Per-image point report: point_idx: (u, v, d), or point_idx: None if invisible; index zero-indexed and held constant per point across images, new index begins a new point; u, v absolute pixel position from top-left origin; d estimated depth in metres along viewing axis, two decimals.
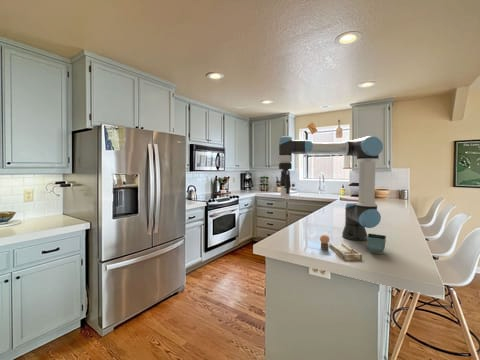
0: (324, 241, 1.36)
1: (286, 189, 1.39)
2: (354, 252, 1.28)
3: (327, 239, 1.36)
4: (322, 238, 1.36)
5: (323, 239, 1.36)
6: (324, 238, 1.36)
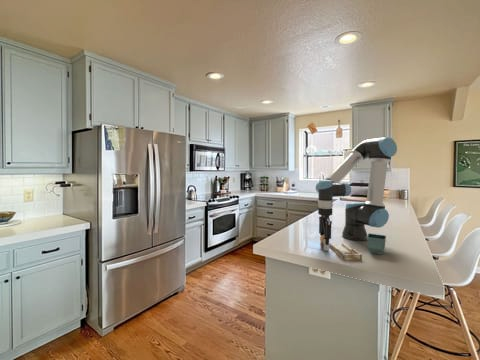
0: None
1: (325, 240, 1.34)
2: (354, 252, 1.28)
3: None
4: (322, 238, 1.36)
5: (323, 239, 1.36)
6: None
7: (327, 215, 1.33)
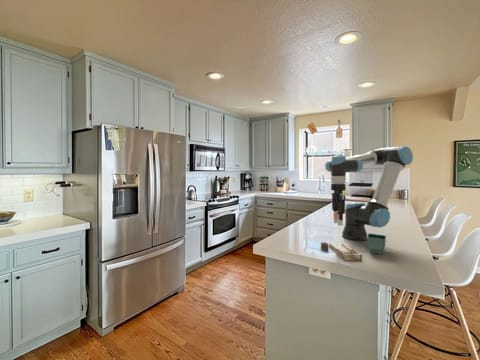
0: None
1: (339, 215, 1.34)
2: (354, 252, 1.28)
3: None
4: (336, 214, 1.37)
5: (337, 214, 1.36)
6: None
7: (340, 190, 1.34)
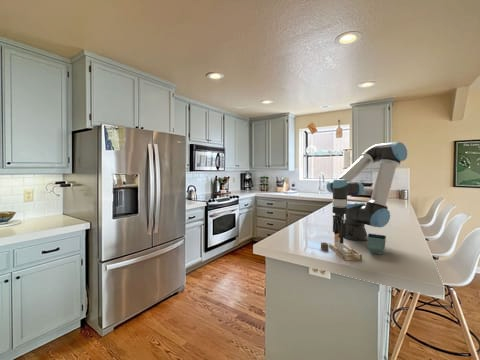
0: None
1: (340, 238, 1.35)
2: (354, 252, 1.28)
3: None
4: (336, 237, 1.37)
5: (337, 238, 1.37)
6: None
7: (342, 214, 1.34)
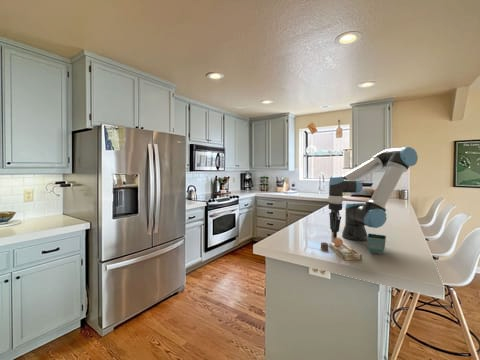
0: (338, 240, 1.39)
1: (334, 233, 1.43)
2: (354, 252, 1.28)
3: (340, 239, 1.40)
4: (335, 238, 1.41)
5: (337, 238, 1.40)
6: (337, 238, 1.41)
7: (337, 210, 1.40)
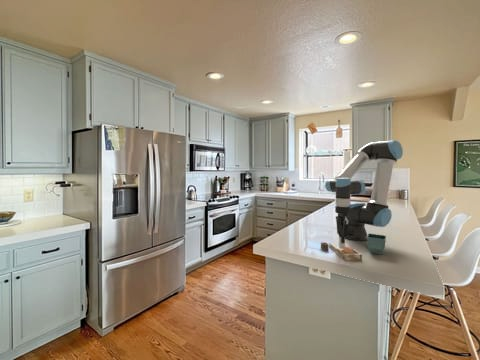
0: (346, 248, 1.26)
1: (341, 238, 1.33)
2: (354, 252, 1.28)
3: (349, 247, 1.27)
4: (343, 248, 1.28)
5: (345, 247, 1.27)
6: (345, 247, 1.28)
7: (345, 213, 1.30)
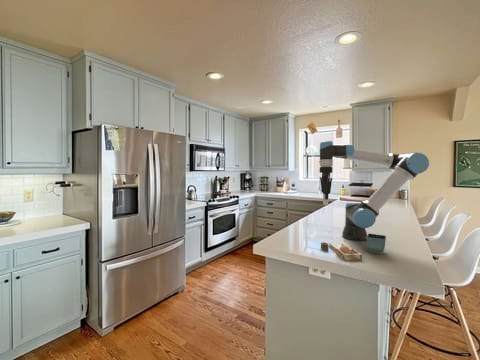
0: (341, 246, 1.30)
1: (325, 195, 1.50)
2: (354, 252, 1.28)
3: None
4: None
5: None
6: None
7: (328, 172, 1.47)
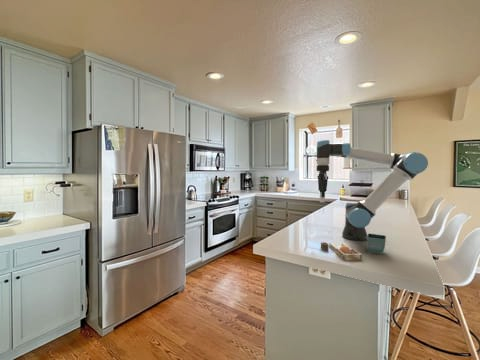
0: None
1: (322, 193, 1.53)
2: (354, 252, 1.28)
3: None
4: None
5: None
6: None
7: (324, 170, 1.50)
